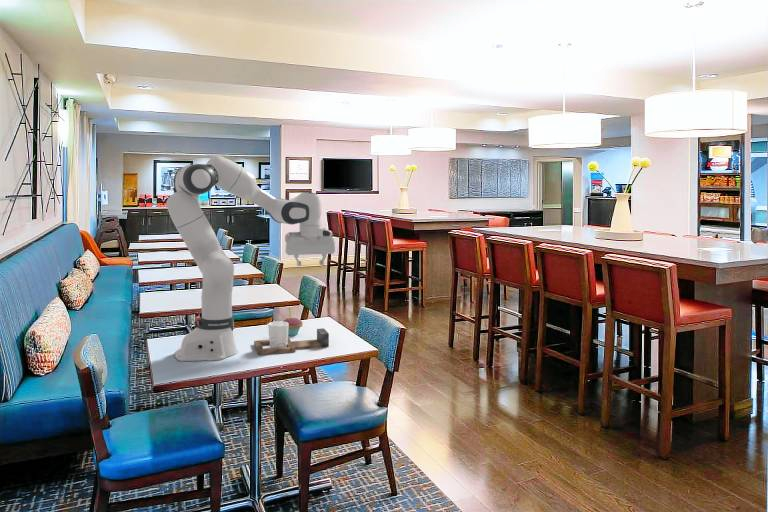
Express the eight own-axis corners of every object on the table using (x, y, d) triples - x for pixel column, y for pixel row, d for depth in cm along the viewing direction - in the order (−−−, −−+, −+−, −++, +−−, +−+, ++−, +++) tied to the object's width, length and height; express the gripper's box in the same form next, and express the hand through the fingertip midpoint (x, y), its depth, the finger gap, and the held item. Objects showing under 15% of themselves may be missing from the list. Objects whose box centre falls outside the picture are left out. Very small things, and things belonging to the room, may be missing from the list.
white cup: (285, 351, 224) (285, 326, 222) (265, 350, 225) (265, 325, 223) (291, 345, 232) (291, 321, 230) (272, 344, 232) (271, 320, 231)
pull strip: (258, 355, 219) (258, 341, 218) (254, 344, 232) (254, 331, 231) (330, 349, 228) (330, 335, 227) (322, 339, 241) (322, 326, 241)
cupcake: (278, 334, 248) (278, 306, 246) (293, 330, 254) (293, 303, 252) (291, 338, 242) (291, 310, 240) (306, 334, 249) (306, 307, 247)
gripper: (286, 232, 230) (286, 267, 232) (336, 232, 237) (336, 265, 239) (283, 231, 236) (283, 264, 238) (332, 230, 243) (332, 263, 245)
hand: (310, 265), depth 238 cm, fingers open, 8 cm apart
